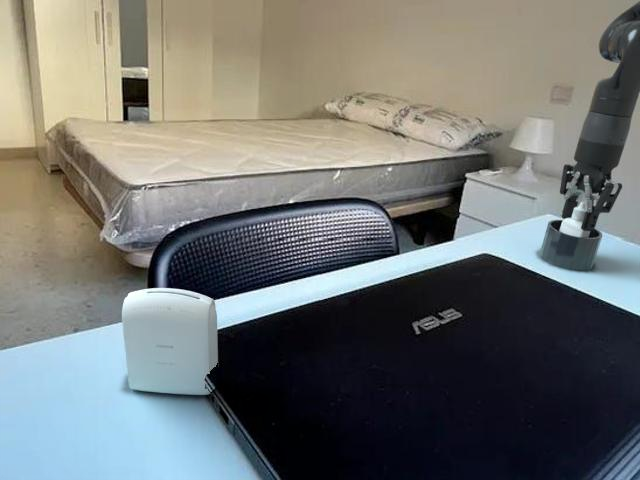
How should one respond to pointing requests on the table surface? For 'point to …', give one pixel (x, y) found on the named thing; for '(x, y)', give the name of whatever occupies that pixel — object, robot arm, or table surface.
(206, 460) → the table surface
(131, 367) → the photo printer
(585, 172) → the robot arm
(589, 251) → the desk tube
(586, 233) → the eye dropper bottle
